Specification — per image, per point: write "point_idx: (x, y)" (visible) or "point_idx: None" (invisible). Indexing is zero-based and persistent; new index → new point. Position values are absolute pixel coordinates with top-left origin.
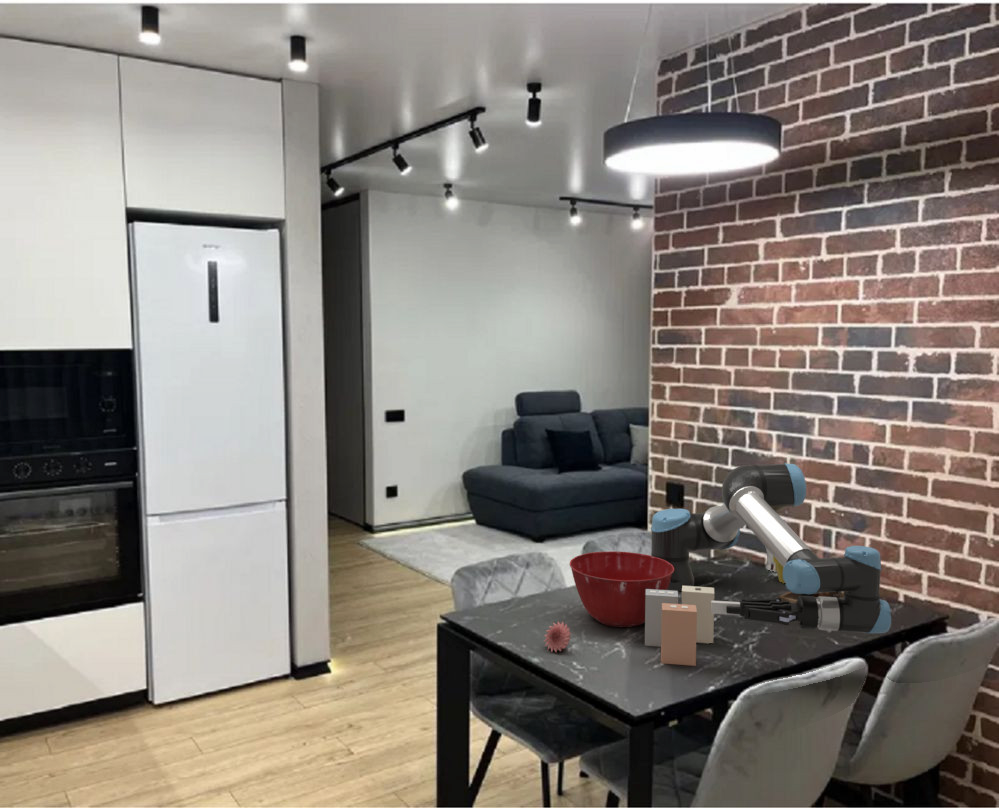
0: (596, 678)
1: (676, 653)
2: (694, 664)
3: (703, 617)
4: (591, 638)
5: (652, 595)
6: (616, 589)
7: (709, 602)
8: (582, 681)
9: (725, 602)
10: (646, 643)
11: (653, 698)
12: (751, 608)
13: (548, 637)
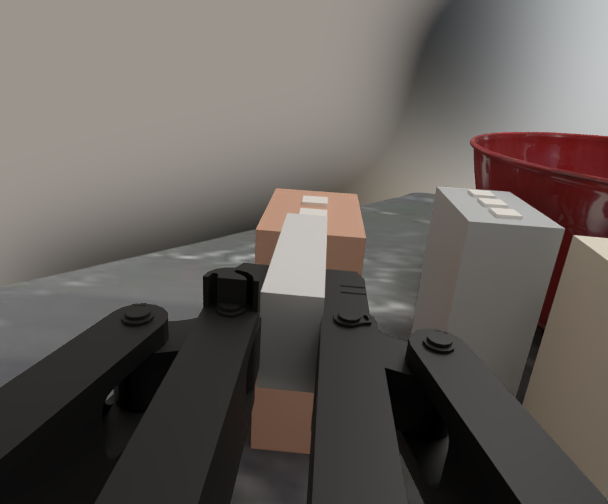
0: (174, 269)
1: None
2: (251, 440)
3: (587, 411)
4: (410, 277)
5: (442, 193)
6: (479, 178)
7: None
8: (163, 257)
9: (294, 243)
10: None
11: (18, 327)
12: (115, 341)
13: None
